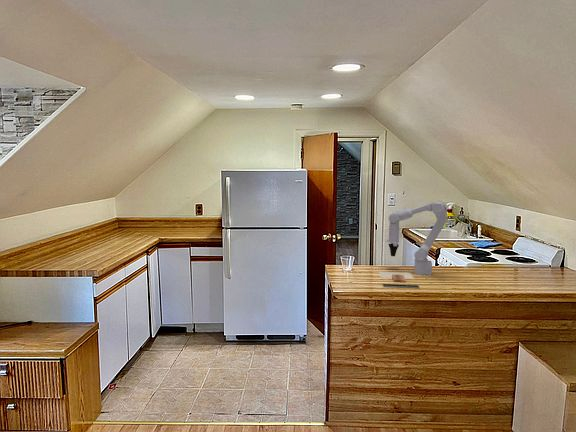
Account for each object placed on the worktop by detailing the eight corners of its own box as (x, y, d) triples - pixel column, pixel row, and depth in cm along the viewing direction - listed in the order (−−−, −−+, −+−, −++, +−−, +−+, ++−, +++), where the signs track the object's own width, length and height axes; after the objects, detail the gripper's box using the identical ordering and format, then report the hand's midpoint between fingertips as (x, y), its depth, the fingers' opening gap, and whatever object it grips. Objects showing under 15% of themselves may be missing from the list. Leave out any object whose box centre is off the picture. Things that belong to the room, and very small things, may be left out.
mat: (414, 280, 228) (414, 280, 228) (419, 288, 215) (419, 287, 215) (380, 279, 230) (380, 279, 230) (383, 287, 216) (383, 286, 216)
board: (409, 274, 241) (409, 272, 241) (414, 280, 228) (414, 278, 228) (378, 273, 243) (378, 271, 243) (380, 279, 230) (380, 277, 230)
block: (403, 278, 229) (403, 274, 229) (405, 283, 221) (405, 280, 221) (391, 277, 230) (392, 274, 229) (393, 283, 222) (394, 280, 221)
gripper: (385, 231, 253) (384, 253, 254) (388, 235, 238) (387, 258, 240) (397, 231, 252) (396, 253, 254) (401, 235, 238) (400, 258, 239)
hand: (393, 256), depth 247 cm, fingers closed
